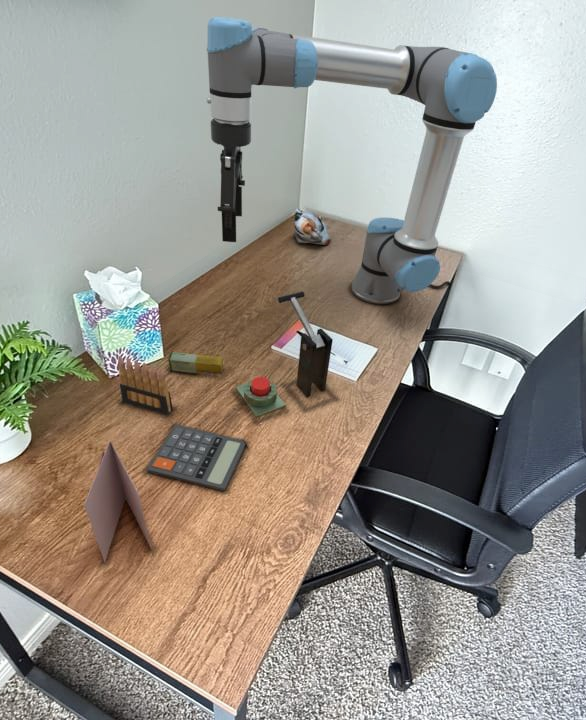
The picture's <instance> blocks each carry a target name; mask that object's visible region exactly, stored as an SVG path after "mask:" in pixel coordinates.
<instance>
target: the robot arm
mask: <svg viewBox="0 0 586 720" xmlns="http://www.w3.org/2000/svg"><path fill="white" fill-rule="evenodd" d="M206 52H207V67H208V68H207V69H208V84H209V85H208V88H209V97H207V98H206V101H205V102H206V103H207V104H210V116H211V118H212V119H211V120H210V138H211V139H210V140H211V141H212V142H213V143H214V144H217V145H220V146H222V147H223V149H221V153H220V155H219V157H220V158H219V160H220V204H219V205H220V206H217V212H220V213H221V235H222V238H221V239H222V242H224V243H225V242H227V243H236V242H237V217H243V193H242V192H243V187H245V186H246V180H244V178H243V177H244V176H243V167H242V166H243V151H242V148H241V147H246V146H249V145H250V144H251V143H252V124H251V123H250V121H251V120H252V103H253V102H252V101H253V100H252V97H253V96H252V86H268V87H269V86H272V87H282V88H283V87H284V88H294V89H298V88H309V87H311V86H312V85H313V84H314V82H315V81H318V82H328V83H336V84H343V85H344V84H345V85H353V86H359V87H360V86H361V87H368V88H369V87H370V88H378V89H385V90H386V89H387V91H388V92H389V93H390V94H391V95H394V96H402V97H405V98H408V99H411V100H413V101H415V102H418V103H420V104H422V105H424V106H425V107H424V109H423V113H422V114H423V115H422V118H421V119H422V120H421V121H422V123H423V125H424V127H425V129H426V132H425V135H424V139H423V143H422V146H421V151H420V155H419V157H418V158H419V159H418V162H417V168H416V169H415V170H416V171H415V175H414V179H413V183H412V187H411V191H410V194H409V199H408V203H407V207H406V210H405V215H404V219H399V218H395V217H377V218H373V219H371V220H370V222H369V223H368V226H367V228H366V229H367V230H366V231H365V232H366V235H365V242H364V248H363V253H362V259H361V264H360V267H359V269H358V271H357V273H356V275H355V277H354V278H353V279H352V282H351V288H350V289H351V293H352V294H353V295H354V296H355V297H356V298H357V299H359V300H361V301H363V302H366V303H368V304H373V305H390V304H393V303H396V302H397V301H398V300H399V299H400V296H401V291H402V290H403V291H405V292H408V293H416V292H420V291H423V290H424V289H426V288H427V287H431V288H433V289H440V288H443V287H444V286H446V285H448V286H451V285H452V284H451V282H450V281H449V280H446V281H444V282H443V283H442V284H439V285H434V284H433V283H434V282H435V281H436V279H437V278H438V276H439V274H440V271H441V263H440V260H439V258H438V257H436V254H437V251H438V247H439V240H438V238H437V237H436V233H437V229H438V226H439V223H440V219H441V216H442V212H443V209H444V205H445V203H446V199H447V196H448V192H449V189H450V185H451V183H452V179H453V175H454V172H455V170H456V169H455V168H456V165H457V163H458V159H459V156H460V152H461V148H462V145H463V141H464V138H465V136H466V135H468V134H469V133H471V132H473V131H474V130H475V126H476V122H478V121H480V120H481V119H483V118H484V117H485V114H486V113H488V112H489V111H490V109H491V108H492V106H493V104H494V102H495V99H496V95H497V91H498V79H497V74H496V71H495V70H494V67H493V65H492V64H491V63H490V61H488V59H486V58H484V57H481V56H480V55H478V54H475V53H472V52H465V51H460V50H456V49H451V48H449V47H445V46H414V45H413V46H411V45H403V44H400V45H397V46H396V47H394V49H393V48H387V47H380V46H373V45H367V44H360V43H353V42H348V41H347V42H346V41H341V40H334V39H327V38H321V37H314V36H307V35H301V34H293V33H286V32H280V31H273V30H268V29H267V28H264V27H255V28H253V27H252V24H251V22H250V21H248V20H245V19H239V18H231V17H223V16H222V17H221V16H220V17H217V16H215V17H211V18H210V19H209V21H208V22H207V44H206Z"/></svg>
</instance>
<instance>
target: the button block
mask: <svg viewBox="0 0 586 720" xmlns="http://www.w3.org/2000/svg"><path fill="white" fill-rule="evenodd" d="M252 380H253V379H250V380H249V381H247V382H246V383H243V384H240V385H237V386H235V391H236V392H237V393H238V395H239V396H240V397H241V399H242V400H243V402H244V403H245V404H246V405H247V407H248V408H249V410H250V411H251V413H253V416H255V418H260V417H263V416H265V415H269V414H271V413H274V412H277V411H279V410H282V409H284V408H286V407H287V404H286V402H285V401H284V400H283V399H282V398H281V397H280V396H279V394H278V393H277V392H278V388H277V385H276V384H275V383H274V381H272V380H270V379H268V380H269V381H270V392H269V394H267V395H265V396H256V395H254V394H253V393H252V392H251V382H252Z"/></svg>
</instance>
